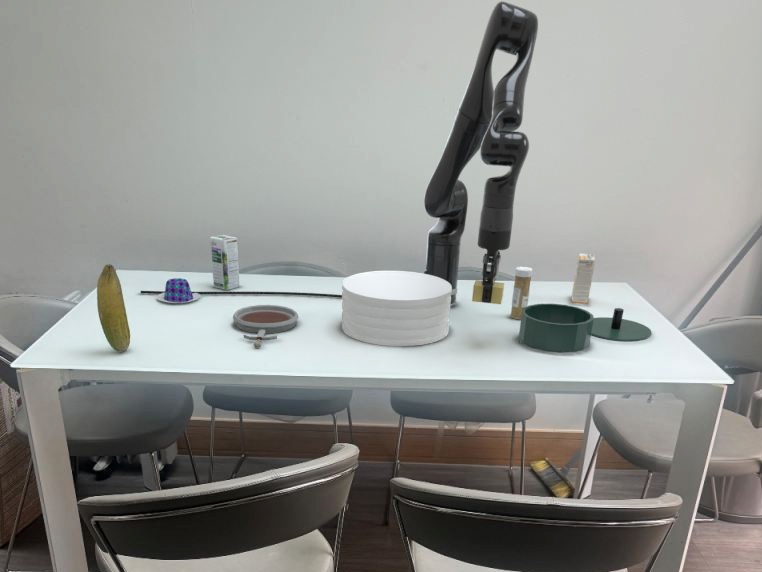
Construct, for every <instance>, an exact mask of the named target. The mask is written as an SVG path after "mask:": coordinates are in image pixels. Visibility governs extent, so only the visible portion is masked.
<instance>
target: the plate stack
mask: <svg viewBox="0 0 762 572" xmlns="http://www.w3.org/2000/svg"><path fill="white" fill-rule="evenodd" d="M451 292H452V286H451V284H450V283H449V282H447V281H446V280H444V279H441V278H439V277H436V276H432V275H428V274H424V272H417V271H406V270H373V271H365V272H358V273H355V274H352V275H349V276H347V277H345V278H344V279H343V280H342V282H341V295H342V298H341V300H342V302H341V310H342V311H341V330H342V332H343V333H344V334H345V335H347V336H348V337H350V338H352V339H354V340H357V341H360V342H364V343H367V344H372V345H379V346H385V347H386V346H388V347H414V346H422V345H427V344H432V343H436V342H438V341H441V340H442V339H444V338H446V337H447V335H448V334H449V329H450V326H449V324H450V314H451V307H450V303H451Z"/></svg>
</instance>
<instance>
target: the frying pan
mask: <svg viewBox="0 0 762 572" xmlns="http://www.w3.org/2000/svg"><path fill="white" fill-rule="evenodd" d="M232 319H233V321H234V322H235V325H236V327H237V328H238V329H240V330H242V331H244V332H249V333H254V334H256V336H255V335H253V336H251V335H247V334H243V339H245V340H249V341H254V342H253V346H254V348H255V349H259V348H261V346H262V343H261V342H262V341H274V340H278V335H271V336H265V334H275V333H282V332H286V331H289V330H291V329H293V328H295V326H296V325H297V321H298V319H299V314H298V313H297V311H296V310H295V309H293V308H291V307H288V306H283V305H279V304H278V305H277V304H276V305H275V304H257V305H249V306H245V307H242V308H239V309H237V310H236V311H235V312H234V313H233V315H232Z"/></svg>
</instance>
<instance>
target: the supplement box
mask: <svg viewBox="0 0 762 572" xmlns="http://www.w3.org/2000/svg"><path fill="white" fill-rule="evenodd" d="M595 263H596V257H595V254H594V253H593V254H591V253H578V256H577V261H576V267H575V274H574V280H573V285H572V292H571V296H570V297H571V303H573V304H584V305H588V303H589V298H590V292H591V286H592V283H593V275H594V270H595Z"/></svg>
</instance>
